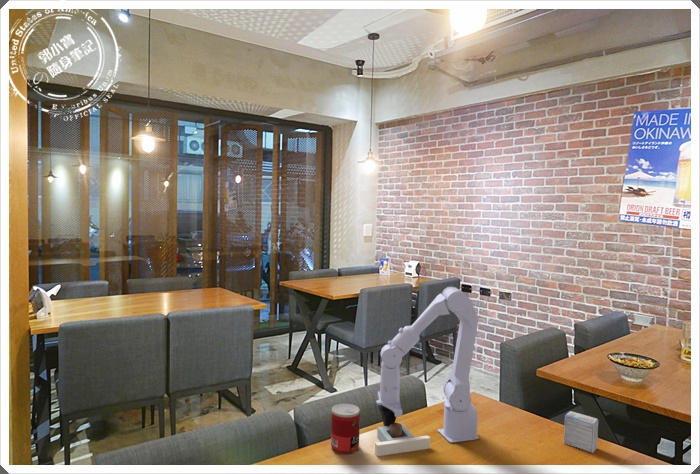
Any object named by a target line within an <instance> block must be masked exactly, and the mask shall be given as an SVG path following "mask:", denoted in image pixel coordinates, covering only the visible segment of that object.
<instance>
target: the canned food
mask: <svg viewBox="0 0 700 474" xmlns="http://www.w3.org/2000/svg"><path fill="white" fill-rule="evenodd" d="M330 416H331V417H330V418H331V421H330V422H331V424H330V425H331V429H330V430H331V431H330V446H331V450H333V452H335V451H336V452H335V453H337V452H338V453H337V454H341V453H343V454H342V455H351V454H354V453H356V452H358V450H359V446H360V427H361V426H360V425H361V423H360V421H361V410H360V407H359V406H357V405H355V404H352V403H338V404H336V405H333V406H332V407H331V415H330ZM353 452H354V453H353ZM350 453H351V454H350Z"/></svg>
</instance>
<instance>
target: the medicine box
mask: <svg viewBox="0 0 700 474" xmlns="http://www.w3.org/2000/svg"><path fill="white" fill-rule="evenodd" d="M598 433H599V419H598V418H596V417H593V416H590V415H586V414H582V413H579V412H576V411H571V410H570V411H568V412H567V413H566V414H565V415H564V433H563V434H564V435H563V444H564V443H565V445H567V444H568V446H570V445H571V447H573V446H574V448H576V447H577V449H579V448H580V450H582V449H583V450H582V451H586V452H589V453H591V454H594V453H595V451H597V449H598V437H599V436H598Z"/></svg>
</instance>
